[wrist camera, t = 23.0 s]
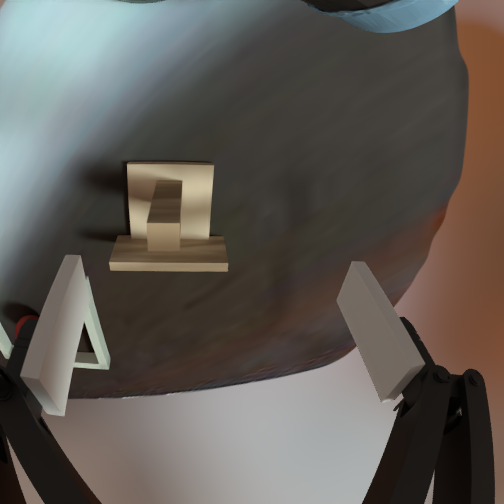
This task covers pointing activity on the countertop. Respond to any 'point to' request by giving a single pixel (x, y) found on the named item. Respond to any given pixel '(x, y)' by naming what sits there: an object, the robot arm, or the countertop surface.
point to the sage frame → (82, 358)
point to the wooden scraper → (169, 220)
